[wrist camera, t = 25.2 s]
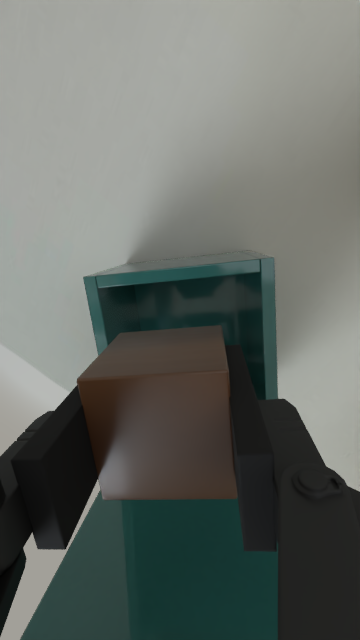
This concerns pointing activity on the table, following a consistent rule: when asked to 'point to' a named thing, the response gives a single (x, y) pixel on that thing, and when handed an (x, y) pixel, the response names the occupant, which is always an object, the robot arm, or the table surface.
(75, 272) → the table surface
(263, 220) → the table surface
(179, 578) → the lid
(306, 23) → the table surface
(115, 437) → the block
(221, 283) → the tin
